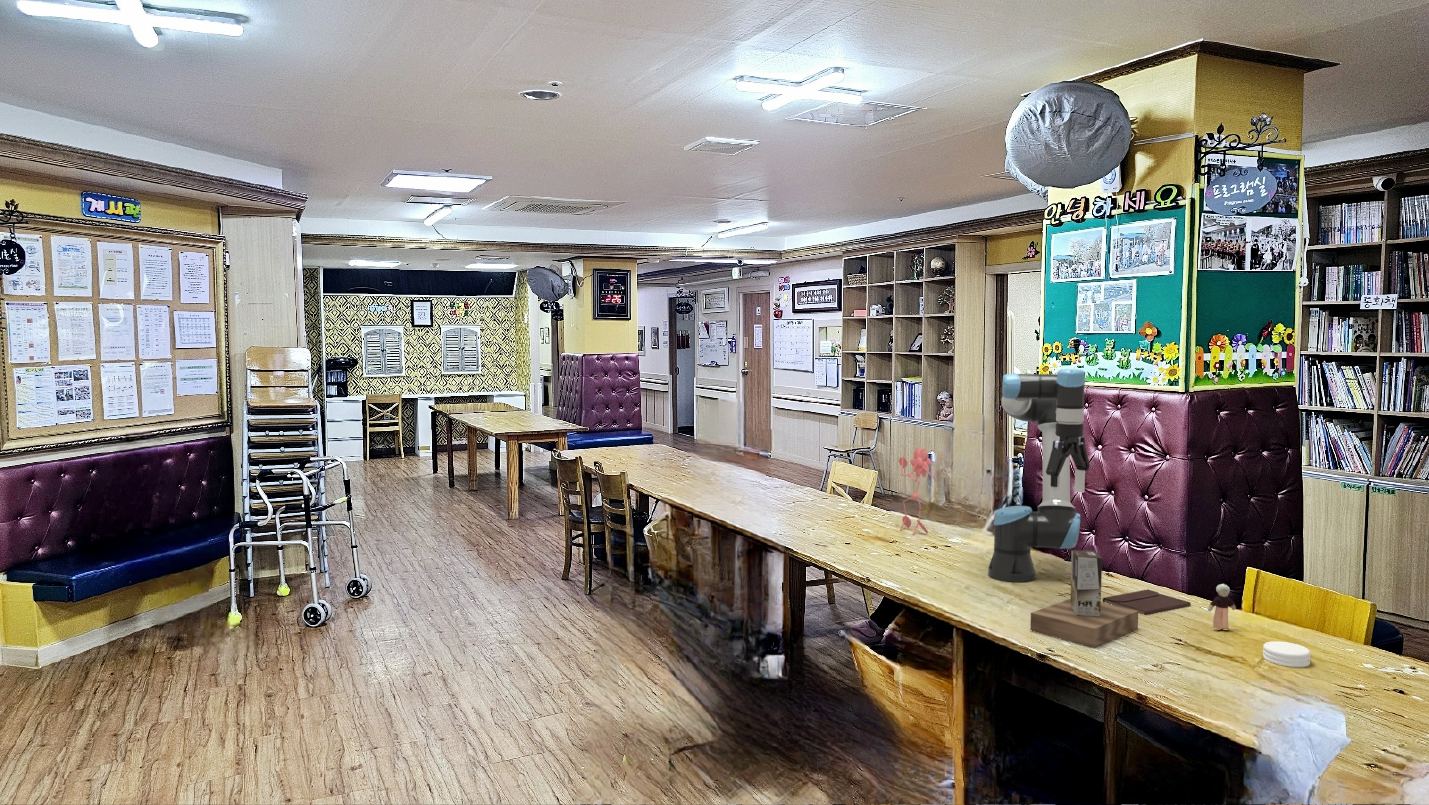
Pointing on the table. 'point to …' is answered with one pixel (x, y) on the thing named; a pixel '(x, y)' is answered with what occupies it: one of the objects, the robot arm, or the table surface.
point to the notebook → (1146, 602)
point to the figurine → (919, 467)
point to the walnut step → (1084, 623)
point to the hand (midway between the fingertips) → (1067, 495)
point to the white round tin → (1286, 654)
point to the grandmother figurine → (1221, 607)
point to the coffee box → (1086, 582)
